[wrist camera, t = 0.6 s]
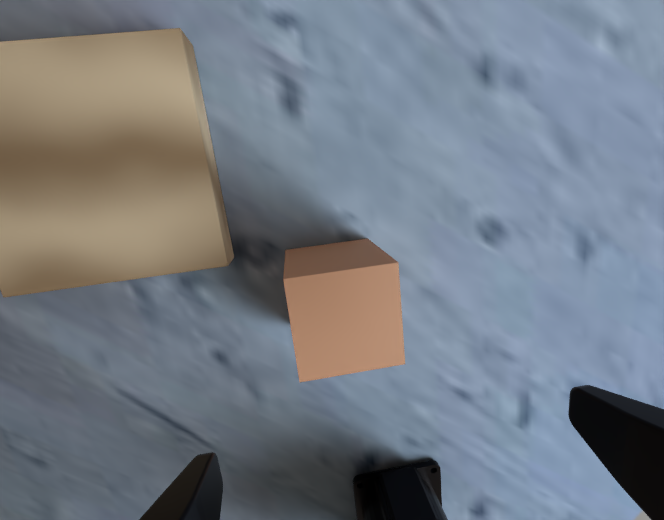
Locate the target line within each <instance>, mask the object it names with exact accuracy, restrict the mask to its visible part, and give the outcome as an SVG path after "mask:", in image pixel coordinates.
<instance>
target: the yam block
mask: <svg viewBox="0 0 664 520" xmlns="http://www.w3.org/2000/svg"><path fill="white" fill-rule="evenodd" d="M283 281H284V287H285V293H286V300H287V306H288V312H289V318H290V325H291V331H292V337H293V343H294V350H295V356H296V362H297V368H298V374H299V381H300V382H305V381H310V380H316V379H322V378H328V377H333V376H339V375H345V374H351V373H356V372H362V371H368V370H374V369H379V368H385V367H391V366H397V365H402V364H405V355H404V340H403V326H402V311H401V296H400V281H399V266H398V262H397V261H396V260H394V259H393V258H392V257H391V256H389V255H388V254H387V253H385V252H384V251H383V250H382V249H380V248H379V247H378V246H376V245H375V244H374V243H373V242H371V241H370V240H369V239H361V240H354V241H346V242H339V243H332V244H325V245H317V246H310V247H303V248H296V249H288V250H285V263H284V276H283Z"/></svg>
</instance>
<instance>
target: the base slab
mask: <svg viewBox="0 0 664 520" xmlns="http://www.w3.org/2000/svg"><path fill="white" fill-rule="evenodd" d="M233 258H234V253H233V248H232V243H231V238H230V233H229V228H228V222H227V217H226V212H225V207H224V202H223V197H222V192H221V187H220V182H219V177H218V171H217V166H216V161H215V156H214V151H213V146H212V141H211V136H210V131H209V126H208V120H207V115H206V110H205V105H204V100H203V95H202V90H201V85H200V80H199V74H198V69H197V64H196V59H195V54H194V49H193V45H192V44H191V43H190V41H189V40H188V38H187V37H186V36H185V34H184V33H183V32H182V30H181V29H180V28H176V29H163V30H149V31H136V32H123V33H110V34H96V35H83V36H70V37H57V38H43V39H30V40H17V41H4V42H0V290H1V292H2V295H3V297H10V296H17V295H24V294H31V293H38V292H46V291H53V290H60V289H67V288H74V287H81V286H88V285H95V284H103V283H110V282H117V281H124V280H131V279H138V278H145V277H152V276H160V275H167V274H174V273H181V272H188V271H195V270H202V269H209V268H217V267H224V266H228V265H229V264H230V263H231V261H232V260H233Z"/></svg>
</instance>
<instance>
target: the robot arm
mask: <svg viewBox="0 0 664 520" xmlns="http://www.w3.org/2000/svg"><path fill="white" fill-rule="evenodd" d="M569 419H570V421H571V423H572V425H573V426H574V428H575V429H576V430H577V431H578V433H579V434H580V435H581V437H582V438H583V439H584V440H585V442H586V443H587V444H588V445H589V447H590V448H591V449H592V450H593V452H594V453H595V454H596V456H597V457H598V458H599V459H600V461H601V462H602V463H603V464H604V466H605V467H606V468H607V470H608V471H609V472H610V473H611V475H612V476H613V477H614V478H615V479H616V481H617V482H618V483H619V484H620V486H621V487H622V488H623V489H624V490H625V491H626V492H627V493H628V495H629V496H630V497H631V498H632V499H633V500H634V501H635V502H636V503H637V504H638V506H639V507H640V508H641V509H642V510H643V511H644V512H645V513H646V514H647V515H648V516H649V518H650V519H651V520H664V409H661V408H658V407H655V406H652V405H649V404H646V403H643V402H639V401H636V400H633V399H630V398H627V397H624V396H621V395H618V394H615V393H612V392H609V391H606V390H603V389H600V388H597V387H593V386H590V385H584V386H578V387H574V388H572V390H571V391H570V400H569ZM358 483H360V484H358ZM353 489H354V497H355V505H356V513H357V520H447V517H446V515H445V513H444V511H443V509H442V499H441V473H440V467H439V465H438V463H437V462H436V461H434V460H431V461H426V462H421V463H416V464H412V465H407V466H402V467H397V468H392V469H387V470H382V471H377V472H372V473H367V474H362V475H358V476H356V477H355V478H354V479H353ZM222 494H223V481H222V476H221V472H220V467H219V463H218V458H217V456H216V454H215V453H213V452H211V453H205V454H200V455H197V456H196V457H195V458H194V459H193V460H192V461H191V462H190V463H189V464H188V465H187V467H186V468H185V469H184V470H183V471H182V472H181V473H180V474H179V476H178V477H177V478H176V479H175V480H174V481H173V482H172V483H171V485H170V486H169V487H168V488H167V489H166V490H165V491H164V492H163V494H162V495H161V496H160V497H159V498H158V499H157V500H156V501H155V502H154V504H153V505H152V506H151V507H150V508H149V509H148V510H147V511H146V513H145V514H144V515H143V516H142V517H141V518H140V519H139V520H220V511H221V502H222Z"/></svg>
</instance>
